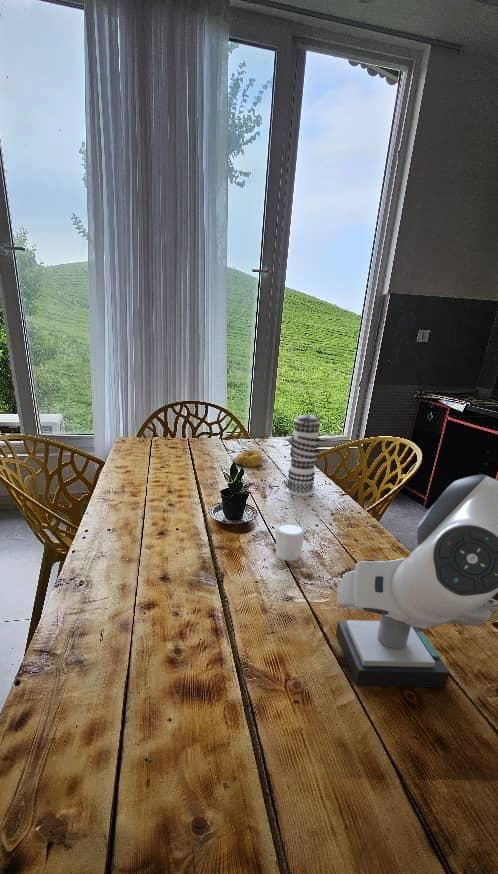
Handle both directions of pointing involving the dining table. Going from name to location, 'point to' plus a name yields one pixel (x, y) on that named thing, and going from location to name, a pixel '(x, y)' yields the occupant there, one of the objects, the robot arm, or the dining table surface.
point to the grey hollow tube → (393, 632)
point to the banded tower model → (303, 455)
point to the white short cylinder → (289, 541)
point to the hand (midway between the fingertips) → (396, 610)
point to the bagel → (249, 458)
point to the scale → (389, 657)
